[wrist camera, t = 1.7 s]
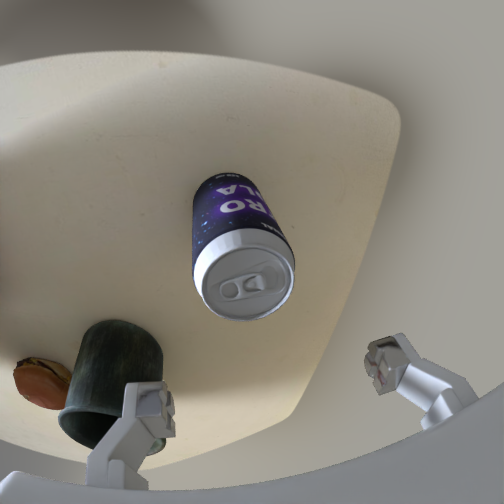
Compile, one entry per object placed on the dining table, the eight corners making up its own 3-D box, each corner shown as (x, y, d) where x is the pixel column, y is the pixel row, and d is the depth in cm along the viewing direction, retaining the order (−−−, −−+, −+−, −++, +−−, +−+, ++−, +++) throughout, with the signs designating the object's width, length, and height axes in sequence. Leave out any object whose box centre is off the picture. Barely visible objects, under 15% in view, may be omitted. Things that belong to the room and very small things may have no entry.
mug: (163, 316, 31) (158, 414, 21) (171, 391, 38) (174, 468, 28) (70, 311, 29) (39, 400, 18) (98, 387, 36) (88, 461, 26)
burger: (89, 382, 35) (83, 409, 31) (59, 397, 36) (53, 421, 32) (34, 341, 30) (23, 367, 26) (10, 362, 31) (1, 385, 27)
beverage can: (265, 221, 27) (307, 310, 17) (204, 239, 27) (212, 337, 17) (251, 161, 24) (293, 223, 14) (184, 181, 24) (176, 257, 14)
